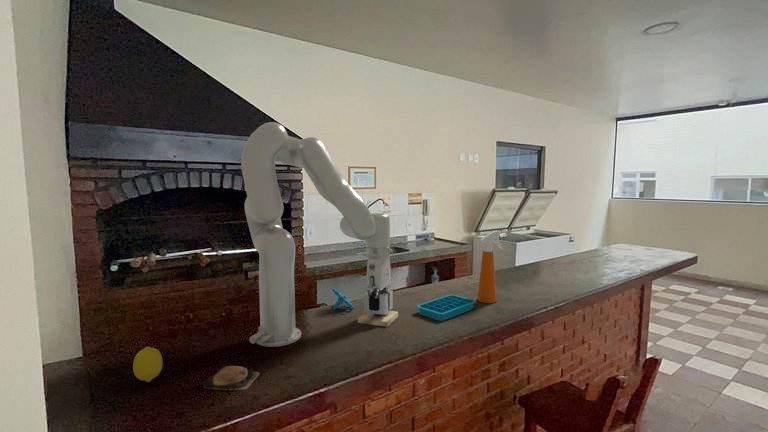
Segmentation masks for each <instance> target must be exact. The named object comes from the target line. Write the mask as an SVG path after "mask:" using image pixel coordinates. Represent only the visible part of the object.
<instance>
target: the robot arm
mask: <svg viewBox="0 0 768 432" xmlns="http://www.w3.org/2000/svg"><path fill="white" fill-rule="evenodd" d="M240 158H241V160H240V165H241V172H242V177H243V178H242V179H243V183H244V188H245V192H246V198H245V201H244V212H245V217H246V221H247V225H248V230H249V232H250V237H251V241H252V243H253V247H254V249H255V250H256V252H257V253H258V255H259V257H258V261H259V262H258V263H259V264H258V287H259V289H258V290H259V291H258V292H259V315H260V316H259V317H260V319H259V320H260V323H259V324H260V326H258V328H257V329H258V331H257V333H255V334H254V335H251V336H250V337H249V343H251V344H257V345H259V346H261V347H266V348H267V347H268V348H269V347H270V348H274V347H275V348H276V347H283V346H288V345H291V344H294V343H296V342H297V341H299V339H301V337H302V331H301V329H299V328H298V327H296V304H295V303H296V299H295V298H296V297H295V294H296V293H295V291H296V290H295V289H296V288H295V262H296V260H295V259H296V243H295V239H294V237H293V235H292V234H291V233H290V232H289V231H288V230H287V229H284V228H283V223H282V219H281V218H282V216H283V213H284V202H283V199H282V195H281V191H280V187H279V182H278V178H277V173H276V162H278V163H282V164H285V165H289V166H293V167H297V168H302V169H303V170H304V171H305V172H306V175H307V176H308V178H310V181H311V182H312V184H313V185H314V187H315V189H316V190H317V192H318V194H319V195H320V196H321V197H322V198H323V199H324V200H326V201H327V202H328V203H330V204H331V205H332V206H334V207H335V208H336V209H337V211H339V213H340V214H341V215H342V218H341V219H340V221H339V228H340V231H341V233H342V234H344V236H347V237H348V238H352V239H356V240H358V241H365V242H366V243H365V245H366V246H365V248H366V249H365V250H366V256H365V257H366V258H367V267H366V292H368V298H369V310H373V311H378V310H379V298H378V293H379V290H382V289H387V290H389V287H388V286H390V285H391V282H392V272H391V271H392V269H391V259H390V257H391V248H390V247H391V234H390V233H391V232H390V231H391V229H390V228H391V227H390V226H391V224H390V223H391V222H390V221H391V219H390V215H389V214H387V213H380V212H375V213H371V211H370V210H369V207H368V206H367V205H366V203H365V202H364V200H363V199H362V197H360V195H359V194H358V193H357V192H356V191H355V189H354V188H353V187H352V186H351V185H350V184H349V183H348V182H347V180H346V179H345V178H344V176H343V174H342V173H341V172H340V169H339V168H338V165H336V163H335V161H334V159H333V158H332V156H331V154H330V152H329V151H328V149H327V146H325V144H324V143H323V142H322V140H320V139H319V138H317V137H312V136H310V137H304V138H302V139H301V138H297V137H294V136H290V135H288V132H287V130H286V129H285V127H284V126H283V125H282V124H280V123H278V122H275V121H274V122H272V121H269V122H265V123H263V124H262V125H260V126H259V127H257V128H256V129H255V131H253V132H252V133H251V134H250V136H248V139H247V140H246V142H245V144H244V147H243V149H242V153H241V157H240ZM373 290H375V291H376V293H375V292H374V291H373Z"/></svg>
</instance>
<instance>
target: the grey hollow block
mask: <svg viewBox="0 0 768 432" xmlns="http://www.w3.org/2000/svg"><path fill="white" fill-rule="evenodd" d="M373 291H374V292H375V293H376V291H375V290H373ZM393 291H394V290H393V289H388V290H387V289H382V290H379V293H378V298H379V310H378V311H373V310H369V298H368V292H367V291H366V292H365V293H364V294H363V296H364V297H363V298H364V299H363V302H364V303H363V305H364V306H363V307H364V309H363V310H364V313H365V312H366V313H374V314H382V315H385V314H387V313H388V311H392V309H393V308H394V307H393V305H394V303H393V295H394V293H393Z"/></svg>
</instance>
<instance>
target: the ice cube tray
mask: <svg viewBox="0 0 768 432" xmlns="http://www.w3.org/2000/svg"><path fill="white" fill-rule="evenodd" d="M475 303H477V300H476V299H471V298H468V297H465V296H459V295H455V294H448V295H443V296H441V297H437V298H435V299H431V300H429V301H426V302H423V303H420V304H417V305H416V306H415V307H416V308H417V309H418V311H419V312H418V313H419V315H422V316H423V317H427V318H430V319H433V320H436V321H440V322H442V321H446V320H448V319H451V318H454V317H457V316H459V315H462V314H464V313H466V312H468V311H471V310H473V309H474V304H475Z"/></svg>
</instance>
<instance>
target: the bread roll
mask: <svg viewBox="0 0 768 432" xmlns="http://www.w3.org/2000/svg"><path fill="white" fill-rule="evenodd" d="M260 375H261V374H260V372H259V371H253V367H252V368H249V369H248V367H245V366H239V365H227V366H226V365H224V366H222V367H220V368H219V369H218V370H216V373H214V374H213V375H211V376H209V377H208V378H207V379H206V380H205V381H203V382H202V383H201V385H202V386H203V388H204V389H208V390H220V391H221V390H222V391H223V390H224V391H241V390H242V391H246V390H248V388H250V386H251V385H252V384H253V383H254V381H256V379H257V378H258V377H259V376H260Z"/></svg>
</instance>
